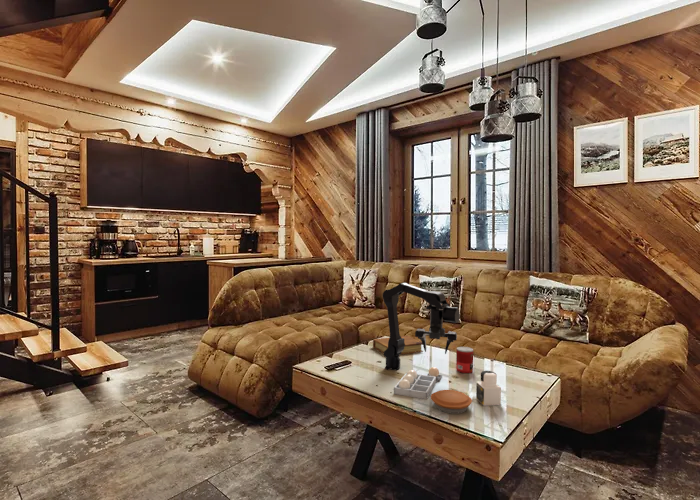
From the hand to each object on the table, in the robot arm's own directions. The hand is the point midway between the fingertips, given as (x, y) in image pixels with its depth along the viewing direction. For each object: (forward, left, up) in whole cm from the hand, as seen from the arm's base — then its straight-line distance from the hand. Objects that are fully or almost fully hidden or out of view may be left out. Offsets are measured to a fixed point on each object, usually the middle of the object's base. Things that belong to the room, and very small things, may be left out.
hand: (435, 352), depth 183 cm
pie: (+12, -30, -12) cm, 34 cm away
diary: (-29, +39, -13) cm, 50 cm away
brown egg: (0, -1, -9) cm, 9 cm away
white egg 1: (-9, -9, -9) cm, 16 cm away
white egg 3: (-9, -23, -9) cm, 26 cm away
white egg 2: (-9, -16, -9) cm, 20 cm away
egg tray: (-5, -16, -12) cm, 21 cm away
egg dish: (0, -1, -12) cm, 12 cm away
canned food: (+12, +16, -12) cm, 23 cm away
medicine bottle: (+25, -19, -12) cm, 33 cm away
